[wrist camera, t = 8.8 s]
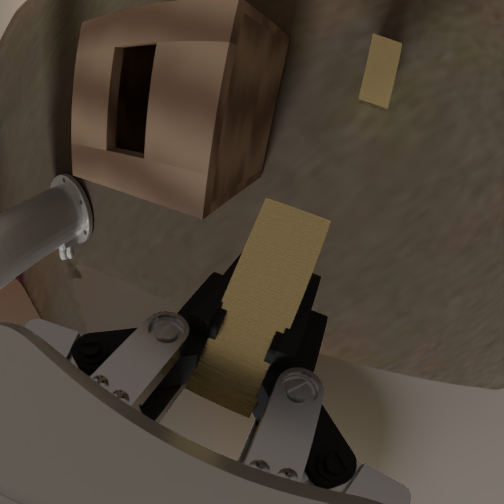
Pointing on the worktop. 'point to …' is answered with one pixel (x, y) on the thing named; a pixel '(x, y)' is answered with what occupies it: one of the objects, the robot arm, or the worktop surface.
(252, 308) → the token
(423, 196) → the worktop surface
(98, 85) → the box
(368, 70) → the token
